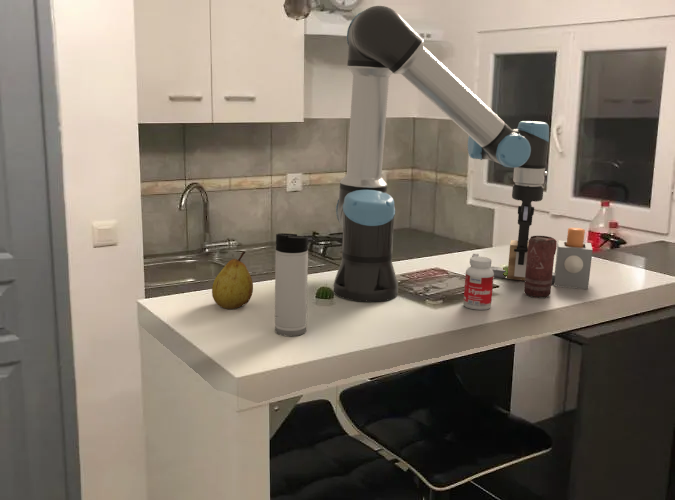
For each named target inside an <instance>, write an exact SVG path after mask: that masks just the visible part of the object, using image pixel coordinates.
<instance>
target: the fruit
mask: <svg viewBox="0 0 675 500" xmlns="http://www.w3.org/2000/svg"><path fill="white" fill-rule="evenodd" d="M245 254H246V251H242V252H241V255H240V256H239V257H238V259H237V258H232V259H231V260H229V261H228V262H227V263H226V264H225V265H224V266H223V268H222V269H221V271H220V272H218V274H217V275H216V277H215V278H214V280H213V283H212V287H211V295H212V300H214V302H215V304H216V305H217V306H218V307H220V308H223V309H226V310H233V309H235V310H236V309H238V308H241V307H243V306H245V305H247V304H248V303H249V301H250V300H251V298H252V295H253V292H254V284H253V283H254V282H253V279H252V276H251V274H250V272H249V269H248V268H247V265H246V264H245V263H244V262H242V261H241V259H242V258H243V256H244V255H245Z"/></svg>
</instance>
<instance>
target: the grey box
mask: <svg viewBox="0 0 675 500" xmlns="http://www.w3.org/2000/svg"><path fill="white" fill-rule="evenodd" d="M566 244H567V240H559V239H558V240H557V246H556V253H555V257H556V258H555V264H554V265H555V266H554V273H555V281H554V283H553V284H554V287H562V288H563V287H564V288H573V289H580V288H581V290H589V283H590V276H591V274H590V273H591V267H592V260H593V259H592V257H593V247H592V243H591V242H584V243H583V248H580V247H568V246H566Z"/></svg>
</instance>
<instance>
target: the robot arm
mask: <svg viewBox="0 0 675 500" xmlns="http://www.w3.org/2000/svg"><path fill="white" fill-rule="evenodd" d="M346 32H347V33H346V41H347V46H348V47H347V48H348V49H347V50H348V51H347V64H346V65H347V66H346V67H347V69H348V70H349V72H350V73H352V85H351V86H352V88H351V102H350V103H351V104H350V116H349V117H350V119H349V131H348V133H349V134H348V149H347V150H348V151H347V162H346V163H347V166H346V174H345V175H344V177H343V178H342V179H340V181H339V194H338V195H339V196H338V200H337V203H336V205H335V206H336V207H335V212H336V217H337V220H338V222H339V224H340V226H341V228H342V244H341V245H342V251H341V252H342V254H341V262H340V264H339V267H338V270H337V273H336V276H335V279H334V281H333V293H334V295H336V296H337V297H339V298H342V299H346V300H350V301H354V302H365V303H368V302H370V303H372V302H373V303H374V302H375V303H376V302H384V301H385V302H386V301H389V300H392V299H395V298H396V297H397V296H398V295H399V283H398V279H397V275H396V272H395V269H394V266H393V265H394V264H393V248H394V247H393V245H394V228H395V227H394V225H395V214H396V208H395V200H394V198H393V197H392V195H390V194H389V193H388V192H387V189H388V183H387V182H386V181H385V179H384V178H383V177H382V175H383V163H384V162H383V161H384V160H383V159H384V149H385V148H384V147H385V136H386V125H387V124H386V121H387V109H388V95H389V94H388V93H389V85H390V84H389V83H390V82H389V81H390V80H389V79H390V77H391V75H393V74H394V75H398V74H400V75H402V76H403V77H404V78H405V79H406V80H407V81H408V82H409V83H411V85H412V86H414V87H415V88H416V89H417V90H418V91H419V92H420V93H422V94H423V96H424V97H426V98H427V99H428V100H429V101H430V102H431V103H433V105H435V106H436V107H437V108H438V109H439V111H441V112H443V114H445V116H447V117H448V118H449V119H450V120H451V121H452V122H453V123H455V124H456V126H458V127H459V128H460V129H461V130H462V131H463V132H464V133H466V134H467V135H468V138H467V153H468V155H469V157H470V158H471V159H473V160H480V161H483V160H487V161H488V160H489V161H491V162H495V163H497V164H499V165H502V167H505V168H513V175H512V180H513V181H512V182H514V184H513V185H512V193H511V198H512V199H513V200H515V201H521V205H518V206H517V216H518V217H517V224H518V236H517V241H518V245H517V249H514V251H515V252H516V261H515V272H514V276H516V277H525V273H526V262H527V251H528V248H527V246H528V242H529V239H530V238H529V235H530V234H529V233H530V227H531V226H532V225H533V224H532V223H533V216H534V215H535V206H532V202H541V201H542V200H543V198H544V188H545V187H544V186H543V184H544V183H545V177H546V176H548V174H549V173H548V172H547V171H545V170H546V167H547V166H546V165H547V157H548V156H547V155H548V150H549V149H548V148H549V143H550V126H549V124H548V123H547V122H546V121H545V122H544V121H537V120H536V121H535V120H534V121H533V120H532V121H531V120H522V121H520V122H518V125H517V128H511V127H510V126H509V124H507V123H506V122H505V121H504V120H503V119H502V118H501V117H499V115H498V114H497V113H495V112H494V111H493V110H492V109H491V108H490V107H489V106H488V105H487V104H486V103H484V102H483V100H481V98H479V97H478V96H477V95H476V93H474V92H473V91H472V90H471V89H470V88H468V86H466V84H464V83H463V82H462V81H461V80H460V79H459V78H458V77H457V76H456V75H455V74H454V73H453V72H452V71H451V70H449V68H448V67H446V66H445V65H444V63H442V62H441V61H440V60H439V59H438V58H437V57H436V56H434V55H433V54H432V52H431V51H430V50H428V49H427V48H426V47H425V40H424V39H423V38H422V37H421V35H419V34H418V33H417V32H416V31H415V30H414V29H413V28H412V27H411V25H410V24H409V23H408V22H407V21H406V20H405V19H404V18H403V17H402V16H401V15H400V14H399V13H398V12H397V11H396V10H394V9H392V8H391V7H388V6H385V5H374V6H370V7H367V8H366V9H365V10H362V11H361V12H359V13H358V14H356V15H355V16H354V17H353V18H352V20H351V21H350V24H349V25H348V28H347V31H346ZM523 246H525V247H523Z"/></svg>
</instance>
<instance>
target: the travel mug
mask: <svg viewBox="0 0 675 500" xmlns="http://www.w3.org/2000/svg"><path fill="white" fill-rule="evenodd" d="M275 244H276V245H275V270H274V272H275V274H274V275H275V276H274V277H275V279H274V283H275V284H274V291H275V292H274V331H275V333H276V334H278V335H280V336H283V337H284V336H285V337H298V336H302V335H304V334H305V333H306V332H307V322H308V321H307V317H308V315H307V314H308V309H307V308H308V274H309V273H308V271H309V270H308V267H309V261H308V260H309V246H308V245H309V236H307V235H298V234H296V233H286V232H285V233H283V232H281V233H279V232H278V233H276V234H275Z"/></svg>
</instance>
